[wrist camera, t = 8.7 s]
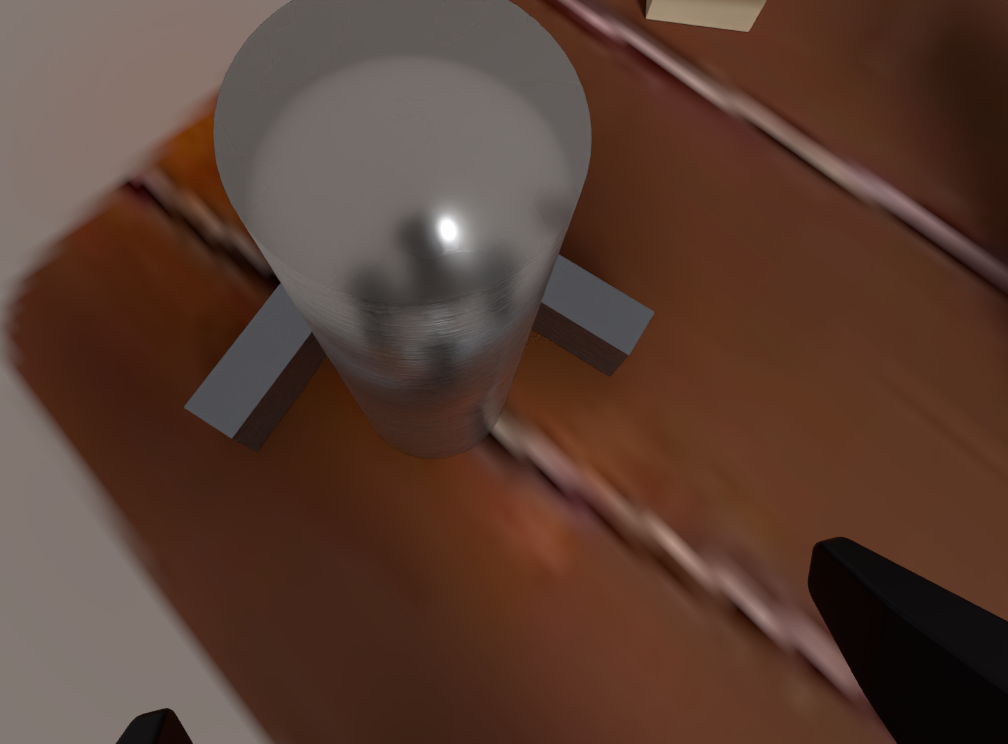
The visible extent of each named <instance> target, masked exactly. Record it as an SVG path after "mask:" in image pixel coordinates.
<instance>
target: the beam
mask: <svg viewBox="0 0 1008 744" xmlns="http://www.w3.org/2000/svg"><path fill="white" fill-rule="evenodd" d="M765 2H766V0H646V19H652V20H660V21H668V22H675V23H683V24H691V25H699V26H706V27H714V28H722V29H729V30H737V31H745V32H749V30H750V28H751V27H752V25H753V23H754V21H755V20H756V18H757V16H758V14H759V13H760V11H761V9H762V7H763V6H764V4H765Z"/></svg>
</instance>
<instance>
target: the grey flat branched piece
mask: <svg viewBox="0 0 1008 744" xmlns="http://www.w3.org/2000/svg"><path fill="white" fill-rule="evenodd" d="M654 313H655V312H654V311H652V310H650V309H649V308H647V307H645V306H644V305H642V304H640V303H639V302H637V301H635V300H634V299H632V298H630V297H629V296H627V295H626V294H624V293H622V292H621V291H619V290H617V289H616V288H614V287H612V286H611V285H609V284H607V283H606V282H604V281H602V280H601V279H599V278H597V277H596V276H594V275H592V274H591V273H589V272H587V271H586V270H584V269H582V268H581V267H579V266H577V265H576V264H574V263H572V262H571V261H569V260H567V259H566V258H564V257H563V256H561V255H559V254H558V257H557V260H556V263H555V265H554V268H553V271H552V274H551V276H550V279H549V282H548V285H547V287H546V290H545V293H544V296H543V298H542V301H541V304H540V307H539V309H538V312H537V315H536V318H535V320H534V323H533V326H532V329H533V330H535V331H536V332H538V333H540V334H541V335H543V336H544V337H546V338H548V339H549V340H551V341H553V342H554V343H556V344H558V345H559V346H561V347H562V348H564V349H566V350H567V351H569V352H571V353H572V354H574V355H575V356H577V357H579V358H580V359H582V360H584V361H585V362H587V363H588V364H590V365H592V366H593V367H595V368H597V369H598V370H600V371H601V372H603V373H605V374H606V375H608V376H611V375H612V374H613V373H614V371H615V370H616V369H617V368H618V367H619V366H620V365H621V364H622V363H623V361H624V360H625V359H626V358H627V357H628V356H629V355H630V353H631V351H632V350H633V348H634V346H635V344H636V343H637V341H638V339H639V338H640V336H641V334H642V333H643V331H644V329H645V328H646V326H647V324H648V323H649V321H650V319H651V318H652V316H653V314H654ZM326 357H327V355H326V353H325V352H324V350H323V348H322V347H321V345H320V344H319V342H318V340H317V339H316V337H315V336H314V334H313V333H312V331H311V329H310V328H309V326H308V325H307V323H306V322H305V320H304V318H303V317H302V315H301V314H300V312H299V310H298V309H297V307H296V306H295V304H294V303H293V301H292V299H291V298H290V296H289V295H288V293H287V292H286V290H285V288H284V287H283V285H282V284H281V283H280V284H279V286H278V287H277V288H276V290H275V291H274V292H273V293H272V295H271V296H270V297H269V299H268V300H267V301H266V302H265V304H264V305H263V306H262V308H261V309H260V310H259V311H258V313H257V314H256V315H255V316H254V318H253V319H252V320H251V322H250V323H249V324H248V325H247V327H246V328H245V329H244V331H243V332H242V333H241V334H240V336H239V337H238V338H237V340H236V341H235V342H234V343H233V345H232V346H231V347H230V348H229V350H228V351H227V352H226V354H225V355H224V356H223V357H222V359H221V360H220V361H219V363H218V364H217V365H216V366H215V368H214V369H213V370H212V372H211V373H210V374H209V375H208V377H207V378H206V379H205V381H204V382H203V383H202V384H201V386H200V387H199V388H198V389H197V391H196V392H195V393H194V395H193V396H192V397H191V398H190V400H189V401H188V402H187V404H186V405H185V406H184V408H185V409H187V410H188V411H190V412H192V413H193V414H195V415H196V416H198V417H199V418H201V419H202V420H204V421H205V422H207V423H208V424H210V425H211V426H213V427H215V428H216V429H218V430H219V431H221V432H222V433H224V434H225V435H227V436H228V437H230V438H231V439H233V440H235V441H237V442H239V443H241V444H243V445H245V446H247V447H249V448H251V449H253V450H254V451H256V452H257V451H258V449H259V448H260V447H261V445H262V444H263V443H264V441H265V440H266V439H267V437H268V436H269V434H270V433H271V432H272V430H273V429H274V428H275V426H276V425H277V424H278V422H279V421H280V419H281V418H282V417H283V415H284V414H285V413H286V411H287V410H288V409H289V407H290V406H291V404H292V403H293V402H294V400H295V399H296V398H297V396H298V395H299V394H300V392H301V391H302V389H303V388H304V387H305V385H306V384H307V383H308V381H309V380H310V379H311V377H312V376H313V374H314V373H315V372H316V370H317V369H318V368H319V366H320V365H321V364H322V362H323V361H324V359H325V358H326Z"/></svg>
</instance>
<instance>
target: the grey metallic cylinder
mask: <svg viewBox="0 0 1008 744" xmlns="http://www.w3.org/2000/svg"><path fill="white" fill-rule="evenodd" d="M213 141H214V150H215V158H216V164H217V167H218V171H219V175H220V178H221V182H222V185H223V187H224V189H225V191H226V194H227V196H228V198H229V200H230V202H231V205H232V206H233V208H234V209H235V211H236V213H237V214H238V216H239V217H240V219H241V220H242V222H243V224H244V225H245V227H246V228H247V230H248V232H249V233H250V235H251V236H252V238H253V239H254V241H255V243H256V244H257V246H258V247H259V249H260V250H261V252H262V254H263V255H264V257H265V258H266V260H267V262H268V263H269V265H270V266H271V268H272V269H273V271H274V273H275V274H276V276H277V277H278V279H279V280H280V282H281V284H282V285H283V287H284V288H285V290H286V292H287V293H288V295H289V296H290V298H291V299H292V301H293V303H294V304H295V306H296V307H297V309H298V310H299V312H300V314H301V315H302V317H303V318H304V320H305V322H306V323H307V325H308V326H309V328H310V329H311V331H312V333H313V334H314V336H315V337H316V339H317V340H318V342H319V344H320V345H321V347H322V348H323V350H324V352H325V353H326V355H327V356H328V358H329V359H330V361H331V363H332V364H333V366H334V367H335V369H336V370H337V372H338V374H339V375H340V377H341V378H342V380H343V382H344V383H345V385H346V386H347V388H348V389H349V391H350V393H351V394H352V396H353V397H354V399H355V401H356V402H357V404H358V405H359V407H360V408H361V410H362V412H363V413H364V415H365V416H366V418H367V419H368V421H369V423H370V424H371V426H372V427H373V429H374V430H375V431H376V433H377V434H378V435H379V436H380V437H381V438H382V439H383V440H384V441H385V442H386V443H387V444H389V445H390V446H392V447H393V448H395V449H397V450H399V451H401V452H403V453H405V454H408V455H411V456H414V457H419V458H426V459H439V458H446V457H452V456H455V455H458V454H461V453H463V452H465V451H467V450H469V449H471V448H472V447H474V446H475V445H477V444H478V443H479V442H480V441H481V440H483V439H484V438H485V437H486V436H487V435H488V433H489V432H490V431H491V430H492V428H493V427H494V425H495V424H496V422H497V420H498V418H499V416H500V414H501V412H502V409H503V406H504V403H505V400H506V398H507V395H508V392H509V389H510V387H511V384H512V381H513V378H514V376H515V373H516V370H517V367H518V365H519V362H520V359H521V356H522V354H523V351H524V348H525V345H526V343H527V340H528V337H529V334H530V332H531V329H532V326H533V323H534V320H535V318H536V315H537V312H538V309H539V307H540V304H541V301H542V298H543V296H544V293H545V290H546V287H547V285H548V282H549V279H550V276H551V274H552V271H553V268H554V265H555V263H556V260H557V257H558V254H559V252H560V249H561V246H562V243H563V240H564V238H565V235H566V232H567V229H568V227H569V224H570V221H571V218H572V216H573V213H574V210H575V207H576V205H577V202H578V199H579V196H580V193H581V191H582V188H583V185H584V182H585V179H586V176H587V172H588V166H589V160H590V155H591V123H590V115H589V109H588V105H587V101H586V97H585V94H584V90H583V88H582V85H581V83H580V81H579V78H578V76H577V73H576V71H575V69H574V68H573V66H572V64H571V63H570V61H569V59H568V58H567V56H566V54H565V52H564V51H563V50H562V49H561V47H560V46H559V45H558V44H557V42H556V41H555V40H554V38H553V37H552V36H551V35H550V34H549V33H548V32H547V31H546V30H545V29H544V28H543V27H542V26H541V25H540V24H539V23H538V22H537V21H536V20H535V19H534V18H532V17H531V16H530V15H529V14H527V13H526V12H525V11H523V10H522V9H521V8H520V7H518V6H517V5H515V4H513V3H512V2H510V1H508V0H292V1H290V2H289V3H287V4H286V5H284V6H283V7H281V8H280V9H279V10H277V11H276V12H275V13H274V14H272V15H271V16H270V17H269V18H268V19H266V20H265V21H264V22H263V23H262V24H261V25H260V26H259V27H258V28H257V29H256V30H255V31H254V32H253V33H252V35H251V36H250V37H249V38H248V39H247V40H246V42H245V43H244V45H243V46H242V48H241V49H240V50H239V52H238V53H237V54H236V56H235V58H234V60H233V62H232V64H231V65H230V67H229V69H228V71H227V73H226V75H225V78H224V81H223V83H222V86H221V89H220V92H219V95H218V99H217V104H216V110H215V115H214V133H213Z"/></svg>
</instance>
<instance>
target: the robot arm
mask: <svg viewBox="0 0 1008 744" xmlns="http://www.w3.org/2000/svg"><path fill="white" fill-rule="evenodd" d="M808 588H809V592H810V595H811V597H812V599H813V601H814V603H815V605H816V607H817V609H818V610H819V612H820V614H821V616H822V618H823V620H824V622H825V623H826V625H827V627H828V629H829V631H830V633H831V634H832V636H833V638H834V640H835V642H836V644H837V645H838V647H839V649H840V651H841V653H842V655H843V657H844V658H845V660H846V662H847V664H848V666H849V668H850V669H851V671H852V673H853V675H854V677H855V679H856V680H857V682H858V684H859V686H860V687H861V689H862V691H863V693H864V694H865V696H866V698H867V699H868V701H869V702H870V704H871V705H872V707H873V708H874V710H875V712H876V713H877V714H878V716H879V717H880V719H881V720H882V722H883V723H884V725H885V726H886V728H887V729H888V731H889V732H890V734H891V735H892V737H893V738H894V740H895V741H896V743H897V744H1008V621H1006V620H1004V619H1002V618H1000V617H998V616H996V615H994V614H992V613H990V612H989V611H987V610H985V609H983V608H981V607H979V606H977V605H975V604H973V603H971V602H969V601H967V600H966V599H964V598H962V597H960V596H958V595H956V594H954V593H952V592H950V591H948V590H946V589H944V588H942V587H941V586H939V585H937V584H935V583H933V582H931V581H929V580H927V579H925V578H923V577H921V576H919V575H917V574H916V573H914V572H912V571H910V570H908V569H906V568H904V567H902V566H900V565H898V564H896V563H894V562H892V561H891V560H889V559H887V558H885V557H883V556H881V555H879V554H877V553H875V552H873V551H871V550H869V549H867V548H866V547H864V546H862V545H860V544H858V543H856V542H854V541H852V540H850V539H848V538H845V537H835V538H831V539H827V540H823V541H819V542H817V543H816V544H815V545H814V547H813V551H812V557H811V563H810V569H809V575H808ZM116 744H193V743H192V741H191V739H190V738H189V736H188V734H187V733H186V731H185V729H184V728H183V726H182V724H181V722H180V721H179V719H178V717H177V716H176V714H175V713H174V711H173V710H171V709H168V708H165V709H160V710H156V711H153V712H149V713H145V714H142V715H140V716H137V717H136V718H135V719H134V720H133V721H132V722H131V723H130V724H129V726H128V727H127V728H126V730H125V732H124V733H123V734H122V735H121V737H120V738H119V740H118V741H117V743H116Z"/></svg>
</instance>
